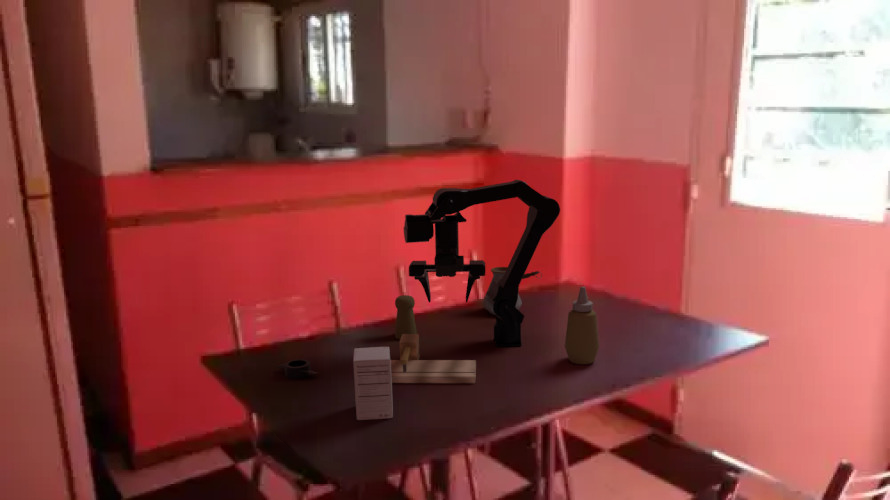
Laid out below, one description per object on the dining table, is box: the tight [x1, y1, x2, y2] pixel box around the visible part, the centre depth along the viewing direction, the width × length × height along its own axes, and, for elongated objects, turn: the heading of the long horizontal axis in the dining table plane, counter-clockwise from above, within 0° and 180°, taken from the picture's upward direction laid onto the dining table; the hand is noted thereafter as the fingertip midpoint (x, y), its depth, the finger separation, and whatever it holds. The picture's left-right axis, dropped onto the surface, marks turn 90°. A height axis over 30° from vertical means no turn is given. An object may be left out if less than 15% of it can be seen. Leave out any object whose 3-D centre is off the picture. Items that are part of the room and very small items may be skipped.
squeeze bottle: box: [564, 286, 600, 365], centre depth 170 cm, size 8×8×18 cm
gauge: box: [399, 333, 420, 372], centre depth 169 cm, size 4×15×6 cm, turn 177°
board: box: [390, 359, 477, 384], centre depth 165 cm, size 22×10×2 cm, turn 86°
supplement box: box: [352, 346, 394, 421], centre depth 145 cm, size 7×7×13 cm
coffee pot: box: [482, 266, 543, 316], centre depth 206 cm, size 21×12×15 cm, turn 37°
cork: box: [394, 294, 418, 340], centre depth 191 cm, size 6×6×11 cm
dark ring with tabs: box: [276, 358, 319, 380], centre depth 167 cm, size 8×10×3 cm
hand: (448, 301), depth 180 cm, fingers open, 9 cm apart
